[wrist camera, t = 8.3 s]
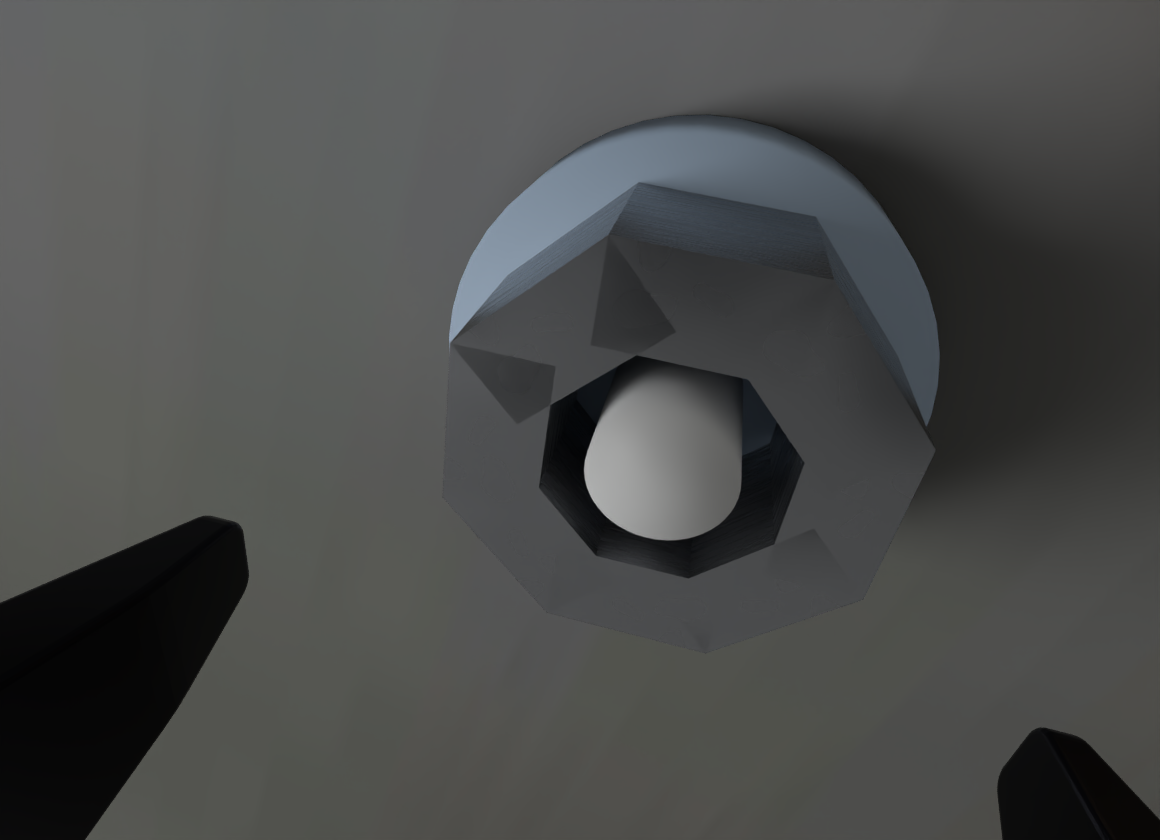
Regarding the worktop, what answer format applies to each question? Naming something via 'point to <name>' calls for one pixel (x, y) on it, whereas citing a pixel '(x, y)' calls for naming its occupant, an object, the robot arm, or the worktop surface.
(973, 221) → the worktop surface
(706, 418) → the hub
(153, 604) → the robot arm
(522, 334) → the ring
